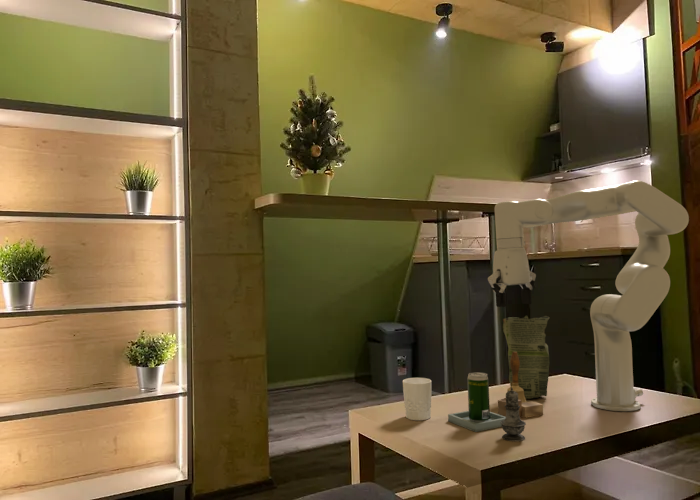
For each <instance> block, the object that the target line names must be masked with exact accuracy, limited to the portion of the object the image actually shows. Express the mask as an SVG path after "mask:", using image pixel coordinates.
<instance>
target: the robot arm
mask: <svg viewBox="0 0 700 500" xmlns="http://www.w3.org/2000/svg"><path fill="white" fill-rule="evenodd" d="M634 212H637V215H636V216H635V220H634V226H635V229H636V233H637V236H638V244H637V245H638V246H637V248H636V249H635V251H634V252H633V254H632V255H631V256H630V258H629V260H628V261H627V262H626V263H625V264H624V266H623V268H622V269H621V270H620V271H619V272H618V274H617V276H616V279H615V287H616V290H617V291H618V292H619V293H620V294H621V295H620V294H612V293H611V294H610V293H609V294H602V295H600V296H598V297H596V298H595V299H594V300H593V301H592V302H591V305H590V308H589V314H590V321H591V325H592V331H593V340H594V341H593V342H594V361H595V362H594V363H595V386H596V396H595V397H593V398H591V400H590V404H591V405H592V406H593V407H595V408H597V409H600V410H605V411H614V412H633V411H634V412H635V411H638V410H640V409H641V403H640V402H639V401H637V400H636V398H637V397H642V396H643V395H644V391H643V389H641V388H638V389H635V388H634V373H633V372H634V371H633V370H634V369H633V368H634V367H633V347H632V346H633V345H632V339H631V334H630V332H636V331H638V330H640V329H642V328H643V327H644V326H645V325H646V324H647V323H648V322H649V320H650V319H651V317H652V316H653V315H654V313H655V312H656V310H657V309H659V306H660V305H661V304H662V302H663V301H664V299H666V297H667V295H668V293H669V291H670V287H671V278H670V275H669V274H668V272H667V270H665V268H664V267H665V266H666V264H667V263H668V262H669V261H668V260H669V259H670V255H671V243H670V240H669V235H676V234H678V233H681V232H682V231H684V230H685V229H686V228H687V226H688V224H689V221H690V219H689V218H690V216H689V213H688V211H687V209H686V208H685V207H684V206H683V205H682V204H681V203H680V202H678V201H676V200H675V199H673V198H672V197H670V196H669V195H667V194H665V193H664V192H663V191H661V190H659V189H658V188H657V187H655V186H653V185H651V184H650V183H648V182H645V181H643V180H639V179H638V180H632V181H628V182H625V183H620V184H614V185H608V186H603V187H596V188H589V189H582V190H577V191H574V192H570V193H567V194H565V195H561V196H557V197H553V198H548V199H547V198H546V199H542V198H535V199H530V200H529V199H528V200H523V201H516V200H510V201H507V200H506V201H502V202H498V203H496V204H495V206H494V220H495V221H494V223H495V239H496V250H494V253H493V254H494V255H493V266H492V271H493V272H492V274H491V275H490V276H488V277H487V281H488V284H489V285H490V288H491V289H492V291H493V293H495V306H496V307H497V308H506V307H507V299H506V298H507V297H506V292H504V291H505V289H506V288H507V286H517V285H519V286H520V287H521V290H520V297H521V299H520V300H521V304H523V305H532V303H533V301H532V291H533V286H534V285H535V281H536V277H537V274H536V273H535V272H533V271H531V270H530V265H529V259H528V255H527V251H526V249H525V245H526V241H525V235H524V228H534V227H539V226H547V225H553V224H558V223H567V222H568V223H569V222H571V223H573V222H580V221H586V220H587V221H588V220H593V219H598V218H604V217H612V216H618V215H624V214H628V213H629V214H630V213H634Z"/></svg>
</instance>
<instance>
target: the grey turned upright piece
mask: <svg viewBox="0 0 700 500" xmlns="http://www.w3.org/2000/svg"><path fill="white" fill-rule="evenodd" d="M510 387H511V386H510ZM505 398H506V405H505V406H504V407H505V408H506V418H505V419H504V420H502V421H500V423H501V424H502V427H501V428H502V430H503V431H504V432H505V433H504V434H502V436H501V438H502V439H503V440H505V441H509V442H522V441H525V440H526V437H525V436H524V435H523V434H522V433H524V430H525V428H526V427H525V426H526V425H527V423H526V421H524V420H522V419H521V417H520V416H519V408H520V406H519V405H518V393H517V392H515V391H513V388H512V387H511V390H510V391H508V392H506V393H505Z"/></svg>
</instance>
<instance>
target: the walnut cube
mask: <svg viewBox="0 0 700 500" xmlns="http://www.w3.org/2000/svg"><path fill="white" fill-rule="evenodd" d="M505 405H506V397H505V398H501V399H497V414H499V415H502V416H505V417H506V408H505V407H504V406H505ZM518 405H519V406H520V408H519V416H520V418H522V400H518Z"/></svg>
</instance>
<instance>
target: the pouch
mask: <svg viewBox="0 0 700 500" xmlns="http://www.w3.org/2000/svg"><path fill="white" fill-rule="evenodd" d="M549 319H550V317H549V316H547V315H544V316H541V317H533V318H529V317H528V315H525V316H524V317H521V318H520V317H514V316H512V317H510V316H509V317H505V318H503V319H502V321H503V324H502V329H503V333H504V335H505V339H506V343H507V344H506V345H507V347H508V349H507V350H508V351H507V358H508V359H507V361H508V367H509V372H508V373H509V375H508V381H509V386H510V387H511V386H512V381H513V380H512V370H511V366H510V360H511V356H512V352H517V354H518V357H519V361H520V367H519V371H518V385H519V387H521V388H522V389H523V390H524V395H525V399H526V400H529V399H536V398H537V399H538V398H540V397H547V396H548V382H549V377H550V374H549V373H550V372H549V368H550V354H549V345H548V344H547V343H546V336H547V334H546V333H545V330H546V328H547V325H548V321H549Z"/></svg>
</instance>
